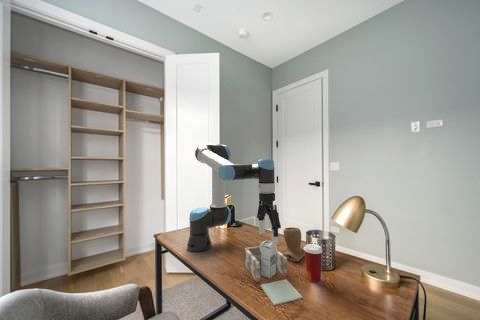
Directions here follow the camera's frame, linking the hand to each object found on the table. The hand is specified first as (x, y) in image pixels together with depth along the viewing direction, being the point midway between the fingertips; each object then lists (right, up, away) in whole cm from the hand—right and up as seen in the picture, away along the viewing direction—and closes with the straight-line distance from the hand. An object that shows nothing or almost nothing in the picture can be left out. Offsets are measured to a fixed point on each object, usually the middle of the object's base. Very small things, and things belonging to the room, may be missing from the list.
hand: (268, 238), depth 91 cm
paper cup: (+19, -16, -5) cm, 26 cm away
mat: (+3, -16, -13) cm, 21 cm away
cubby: (-1, -17, +4) cm, 17 cm away
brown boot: (+17, -17, +18) cm, 29 cm away
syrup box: (0, -17, 0) cm, 17 cm away
